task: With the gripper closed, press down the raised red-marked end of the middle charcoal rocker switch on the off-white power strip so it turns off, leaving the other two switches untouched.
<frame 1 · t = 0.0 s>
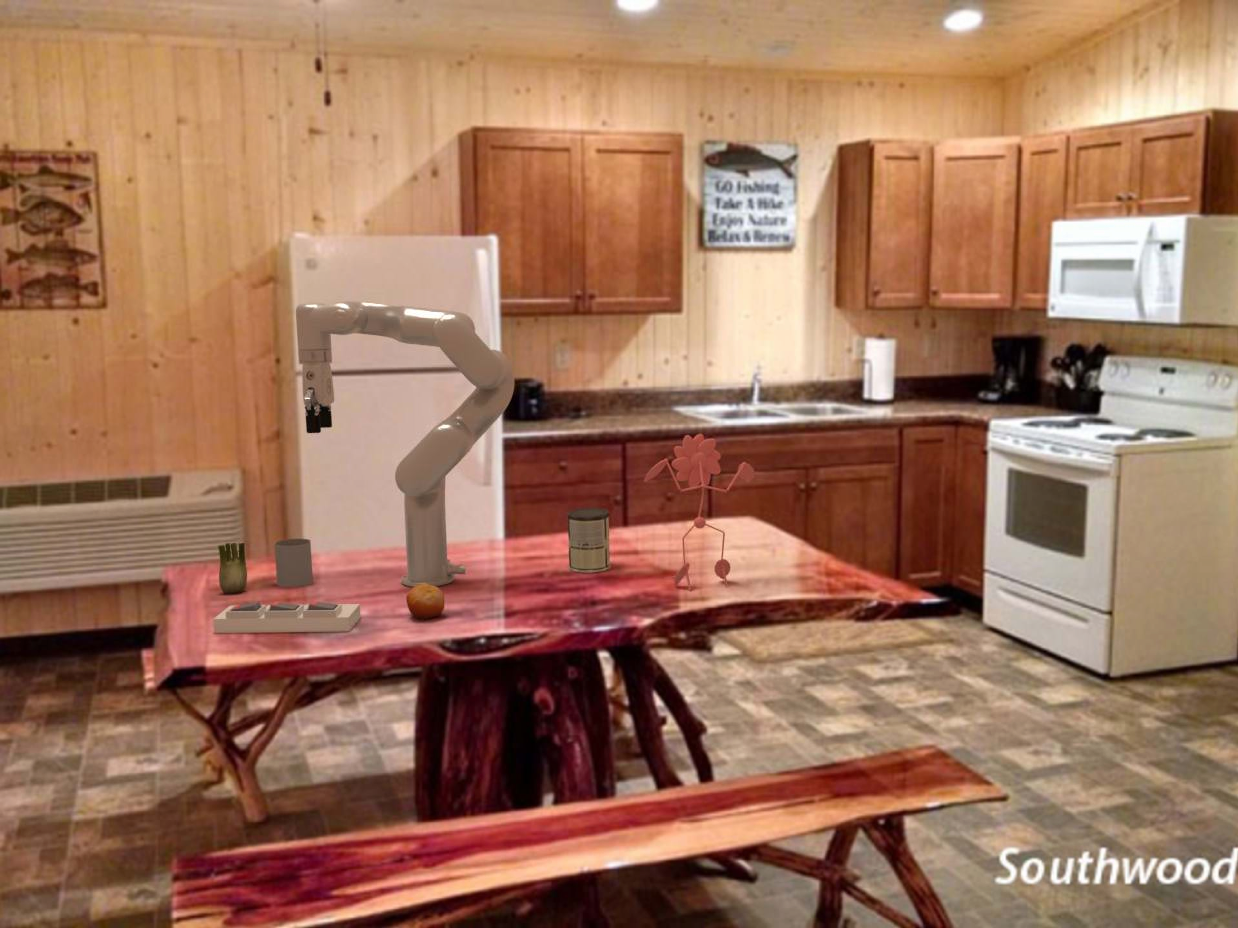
hand: (319, 430, 279), 37 cm above the table, tool pointing down, fingers open, 9 cm apart
coffee can: (589, 568, 294), on the table
rocker 1: (246, 608, 248), point 4 cm above the table, hinge at 10.0°
fennel bulb: (234, 593, 278), on the table
rocker middle: (284, 607, 248), point 4 cm above the table, hinge at -10.0°
fruit: (425, 617, 255), on the table
power strip: (288, 625, 251), on the table
cup: (295, 583, 286), on the table
figurine: (697, 582, 279), on the table
rocker 2: (322, 607, 248), point 4 cm above the table, hinge at -10.0°
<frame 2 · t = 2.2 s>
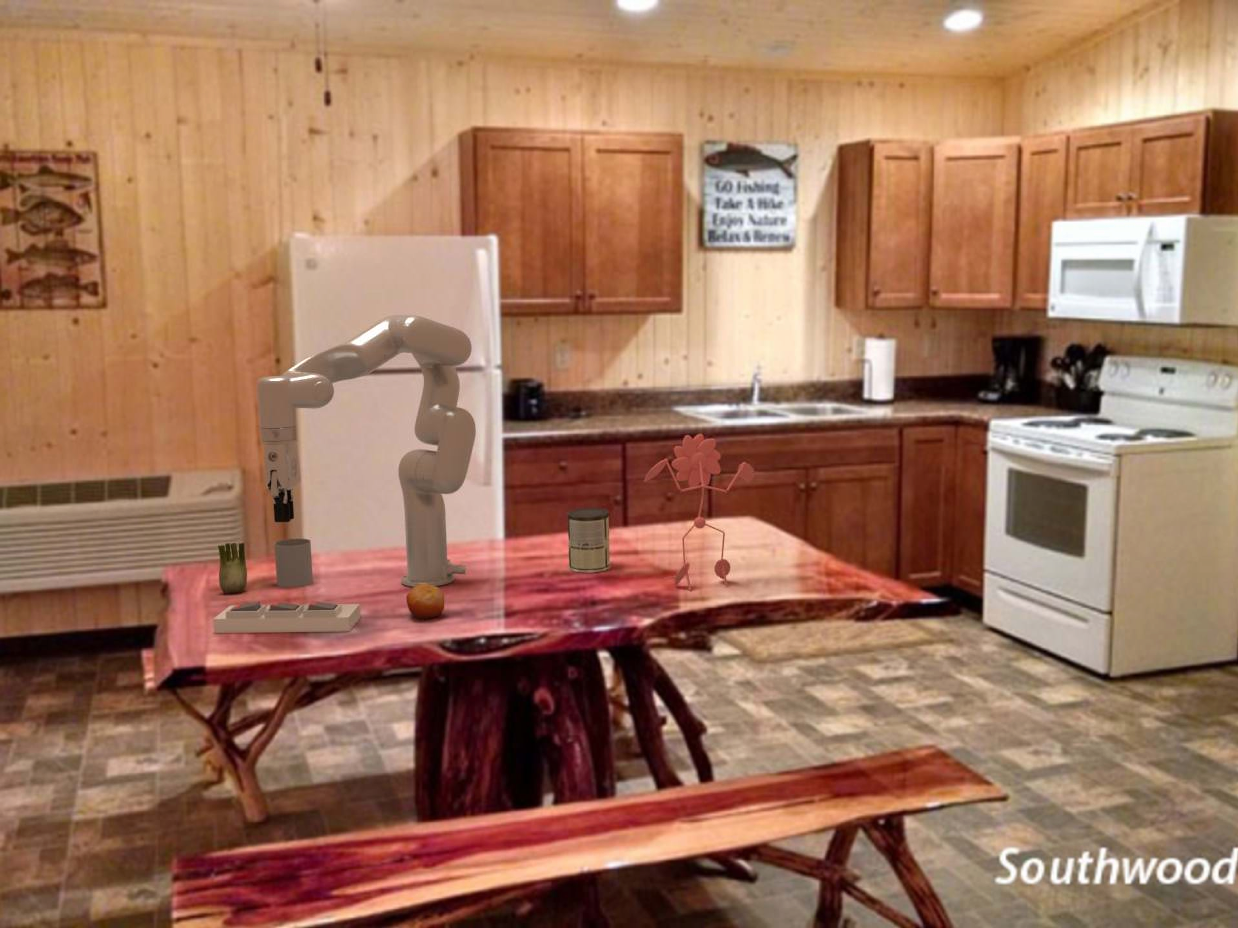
hand: (284, 519, 254), 21 cm above the table, tool pointing down, fingers closed
nothing on the table moved.
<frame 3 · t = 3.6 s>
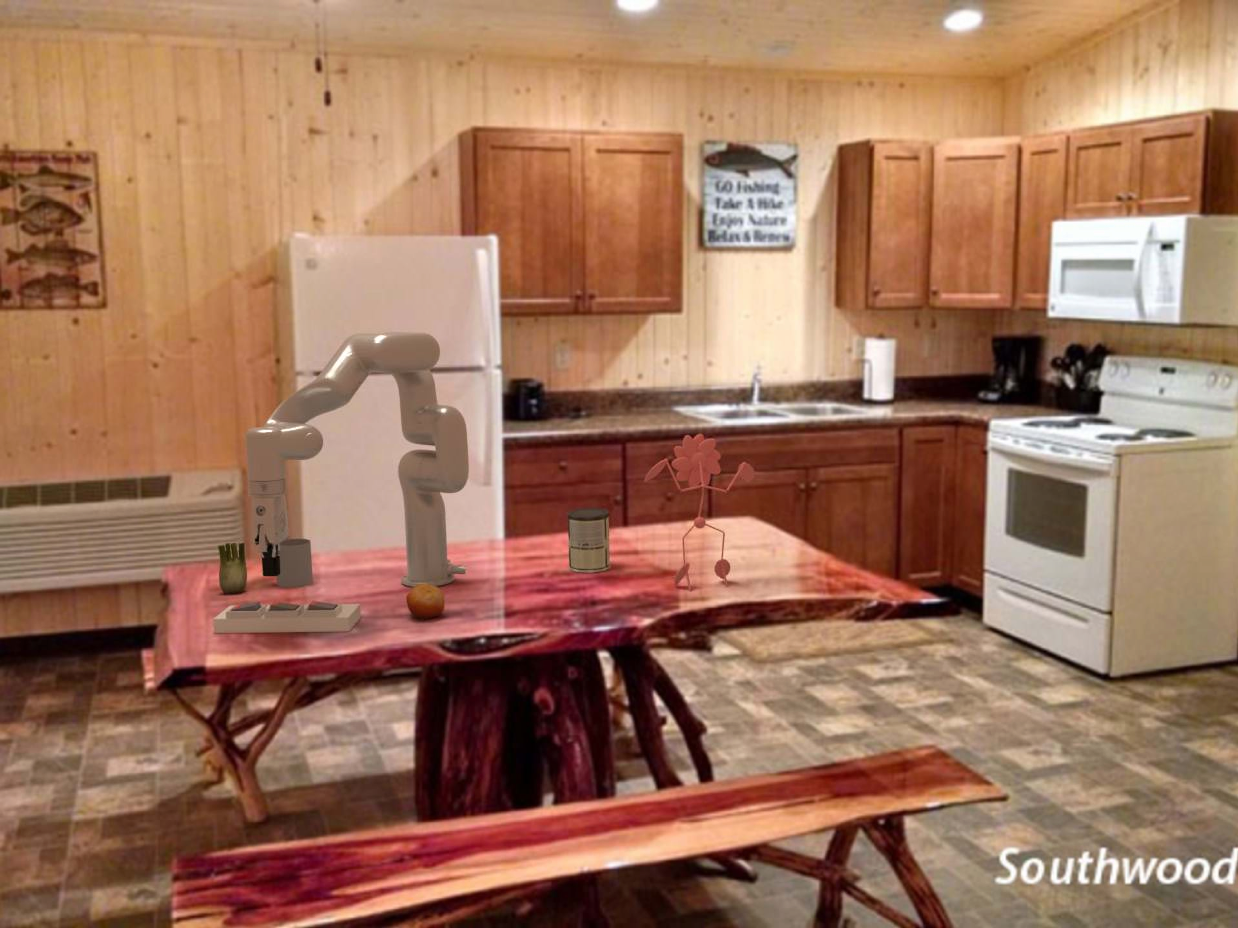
hand: (271, 575, 246), 12 cm above the table, tool pointing down, fingers closed
nothing on the table moved.
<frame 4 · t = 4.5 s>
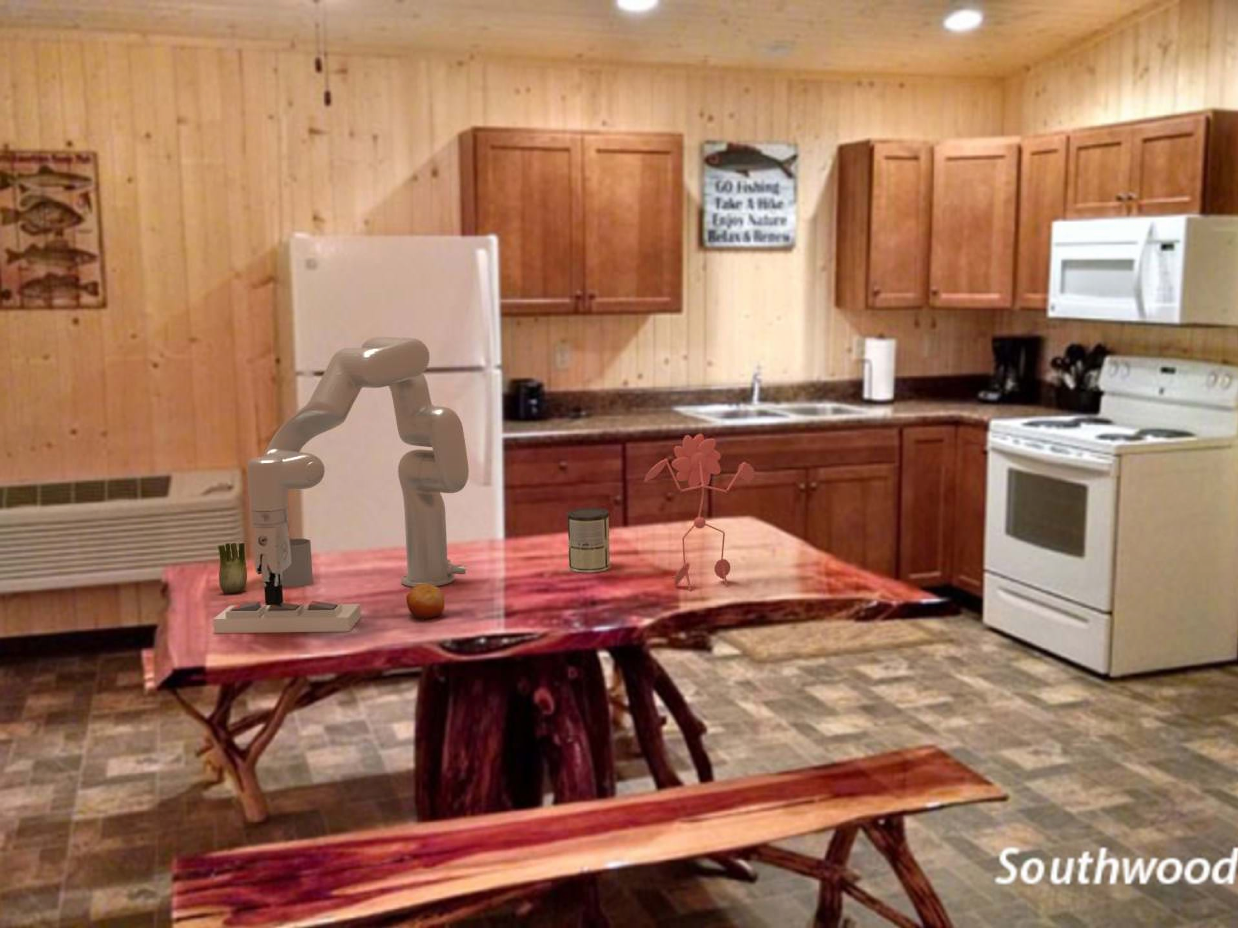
hand: (274, 603, 247), 5 cm above the table, tool pointing down, fingers closed
rocker middle: (284, 607, 248), point 4 cm above the table, hinge at -9.9°, touching gripper
everything else where it was.
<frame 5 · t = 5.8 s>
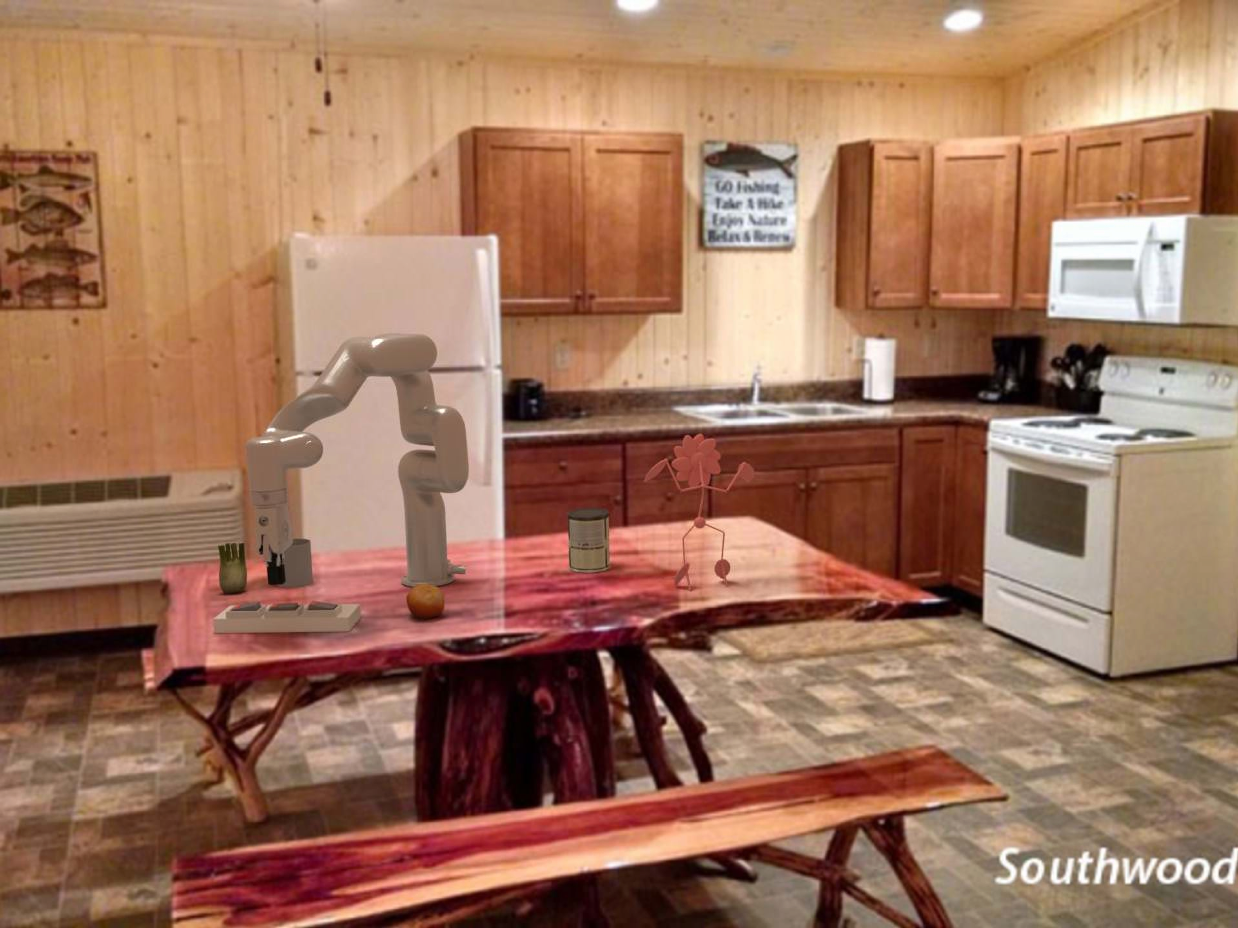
hand: (277, 583, 248), 9 cm above the table, tool pointing down, fingers closed
rocker middle: (284, 607, 248), point 4 cm above the table, hinge at 2.3°
everything else where it was.
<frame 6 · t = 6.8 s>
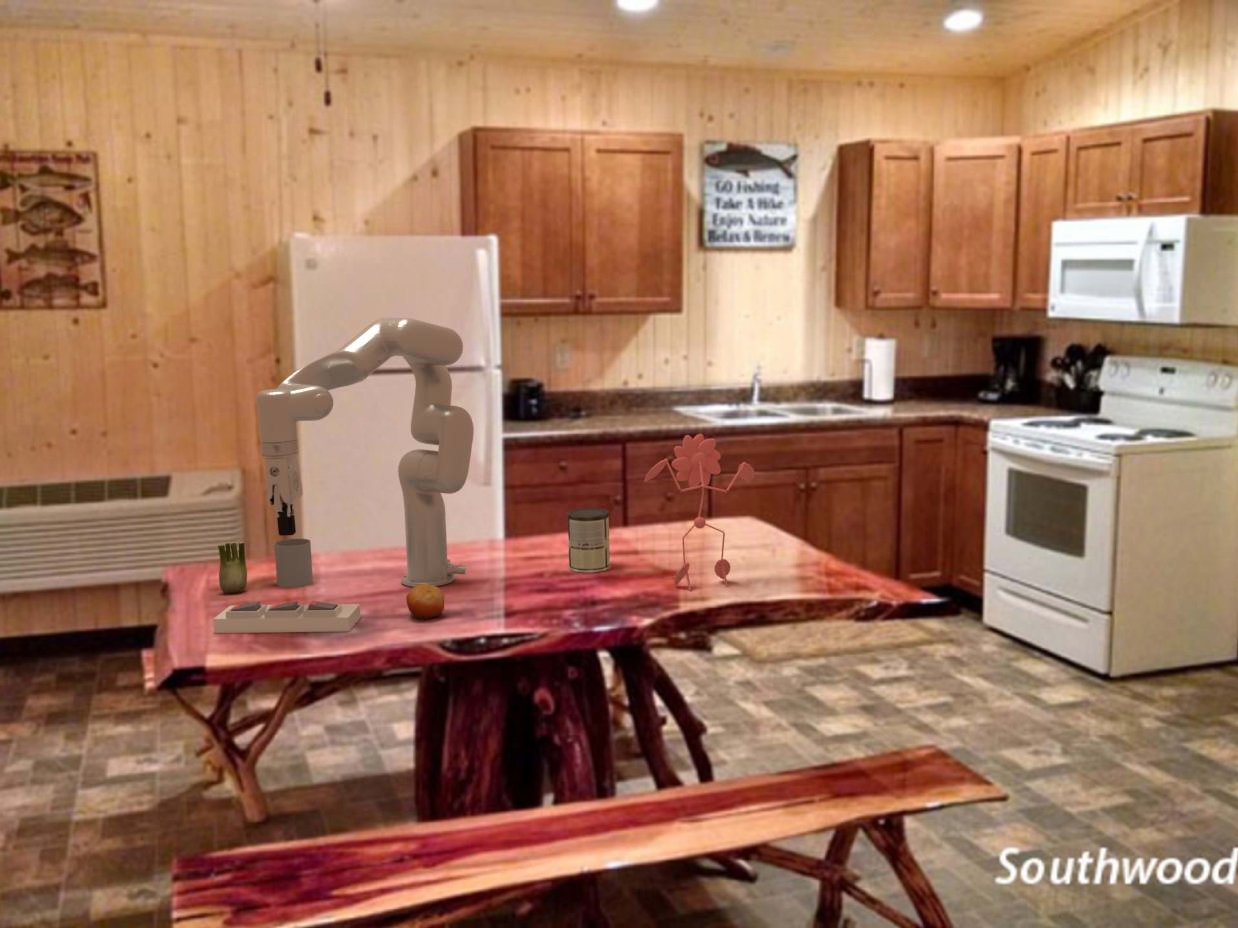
hand: (287, 534, 252), 19 cm above the table, tool pointing down, fingers closed
rocker middle: (284, 607, 248), point 4 cm above the table, hinge at 9.4°
everything else where it was.
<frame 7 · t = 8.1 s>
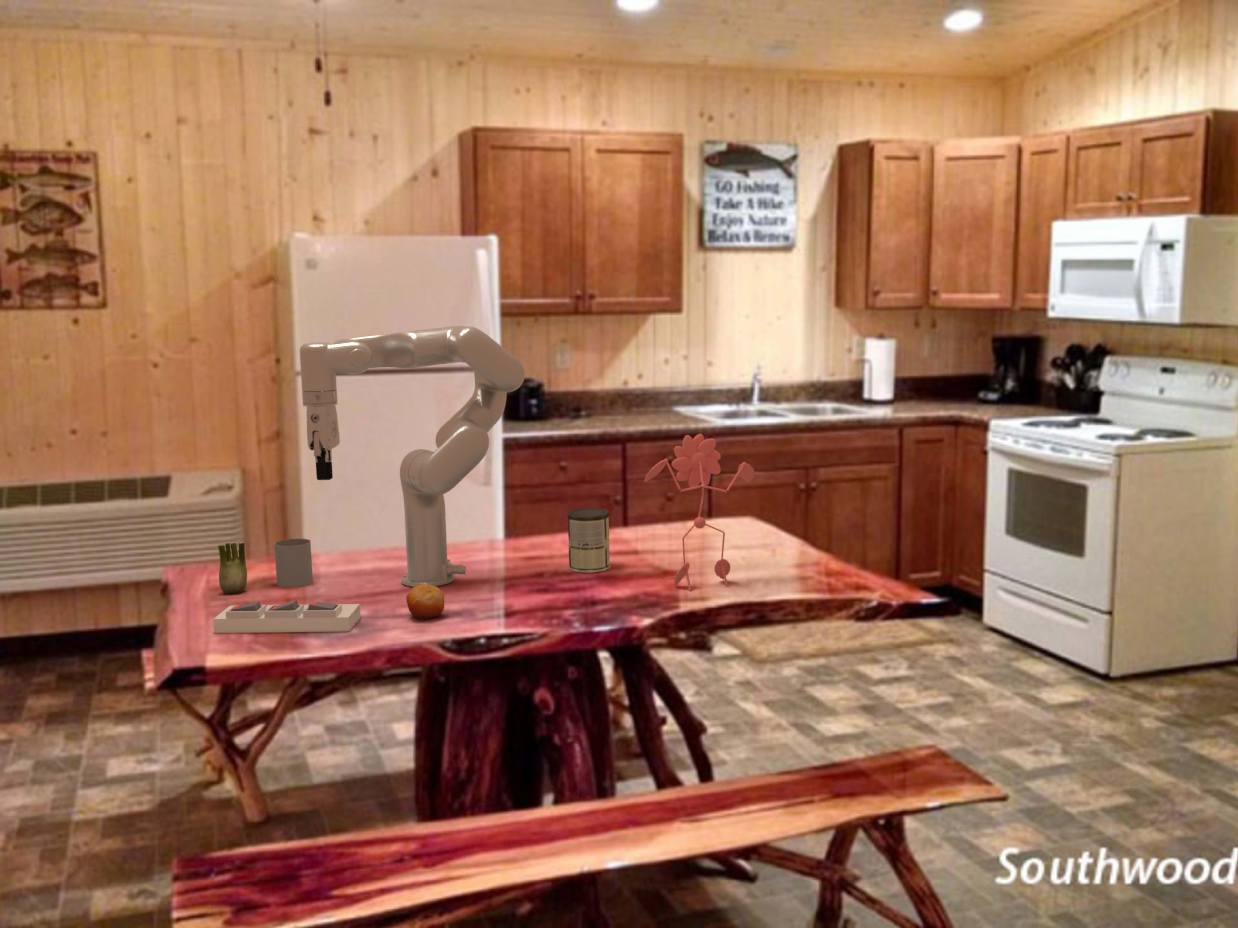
hand: (324, 479, 269), 27 cm above the table, tool pointing down, fingers closed
rocker middle: (284, 607, 248), point 4 cm above the table, hinge at 16.8°
everything else where it was.
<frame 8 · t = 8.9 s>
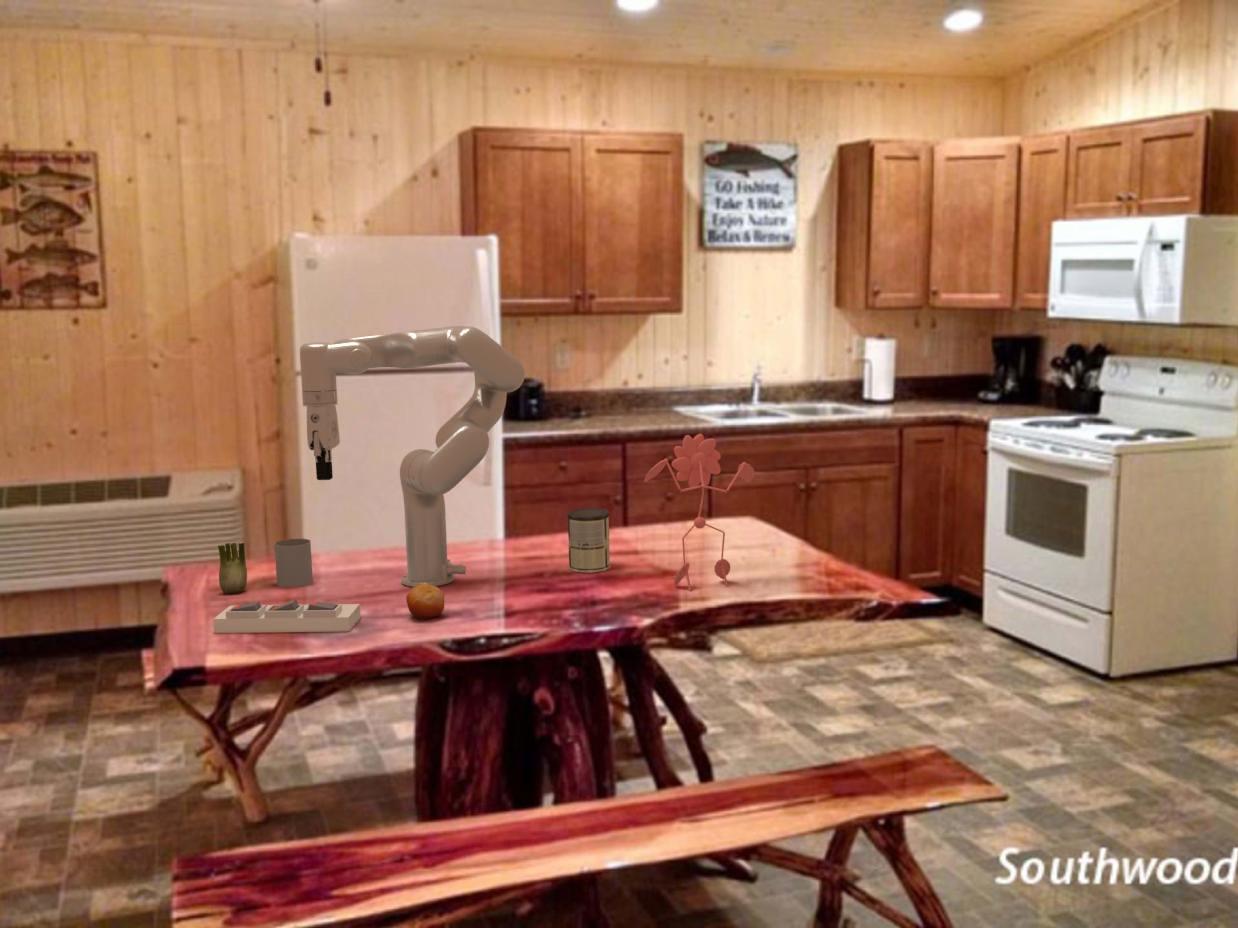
hand: (324, 479, 269), 27 cm above the table, tool pointing down, fingers closed
rocker middle: (284, 607, 248), point 4 cm above the table, hinge at 20.5°, touching power strip
everything else where it was.
at the end: rocker middle at +21° (first picture: -10°); rocker 2 at -10° (first picture: -10°); rocker 1 at +10° (first picture: +10°) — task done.
